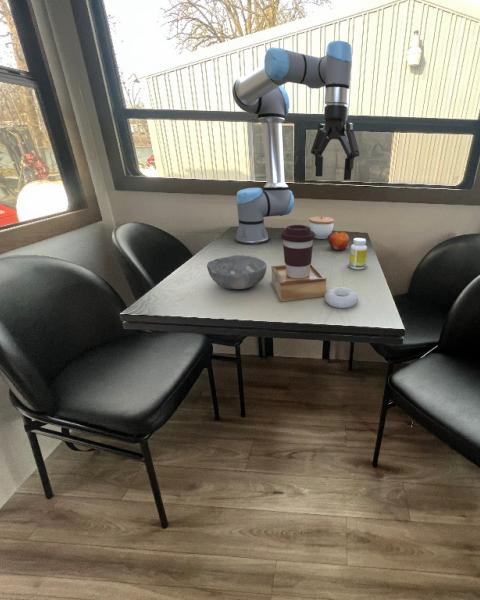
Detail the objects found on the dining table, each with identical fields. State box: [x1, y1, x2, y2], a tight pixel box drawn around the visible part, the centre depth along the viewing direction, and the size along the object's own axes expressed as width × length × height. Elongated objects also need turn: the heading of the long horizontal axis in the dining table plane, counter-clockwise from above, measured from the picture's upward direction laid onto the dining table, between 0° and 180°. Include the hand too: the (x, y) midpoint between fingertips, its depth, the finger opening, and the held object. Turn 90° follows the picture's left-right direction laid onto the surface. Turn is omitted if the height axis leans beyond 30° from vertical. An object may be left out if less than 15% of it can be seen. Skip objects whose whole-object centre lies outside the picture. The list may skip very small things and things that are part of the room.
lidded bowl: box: [308, 214, 335, 240], centre depth 151 cm, size 13×13×11 cm
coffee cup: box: [280, 224, 316, 279], centre depth 89 cm, size 10×10×15 cm
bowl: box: [206, 254, 267, 290], centre depth 94 cm, size 18×18×8 cm
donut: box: [323, 286, 359, 309], centre depth 88 cm, size 10×4×10 cm
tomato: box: [328, 230, 350, 251], centre depth 134 cm, size 9×9×8 cm
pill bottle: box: [349, 237, 368, 270], centre depth 113 cm, size 6×6×11 cm
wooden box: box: [270, 262, 327, 302], centre depth 94 cm, size 14×14×6 cm
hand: (332, 178), depth 103 cm, fingers open, 13 cm apart
